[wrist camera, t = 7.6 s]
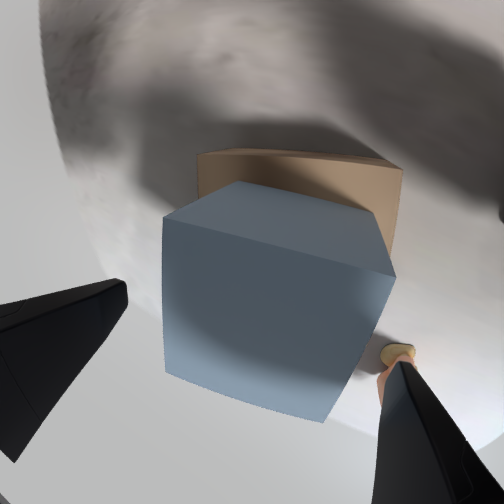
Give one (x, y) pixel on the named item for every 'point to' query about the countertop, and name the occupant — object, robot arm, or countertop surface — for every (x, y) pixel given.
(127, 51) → the countertop surface
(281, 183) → the tan flat block
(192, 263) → the slate-blue cube
